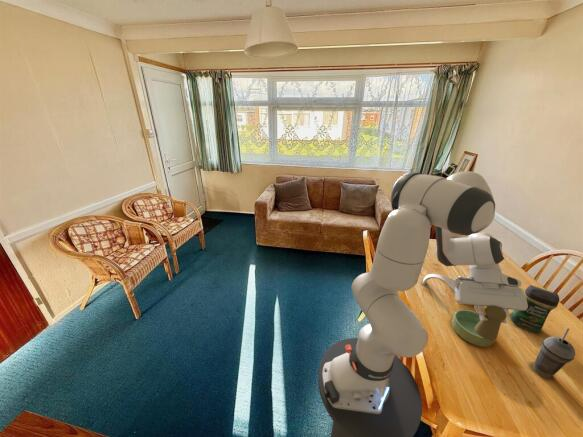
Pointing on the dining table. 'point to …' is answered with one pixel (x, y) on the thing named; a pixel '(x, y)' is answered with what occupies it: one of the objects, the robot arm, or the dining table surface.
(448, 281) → the spoon rest
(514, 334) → the dining table surface
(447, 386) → the dining table surface
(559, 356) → the beverage cup
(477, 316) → the bowl
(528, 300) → the coffee jar
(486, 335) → the brown peanut shape
